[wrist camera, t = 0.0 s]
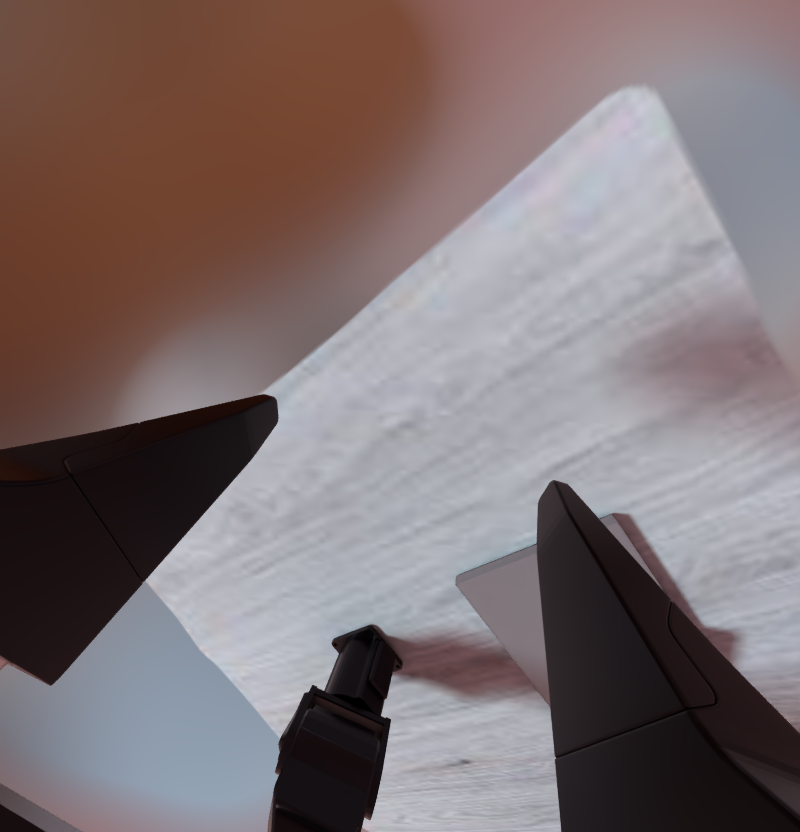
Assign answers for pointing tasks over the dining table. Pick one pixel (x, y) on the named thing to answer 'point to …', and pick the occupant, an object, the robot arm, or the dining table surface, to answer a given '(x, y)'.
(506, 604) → the board
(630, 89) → the dining table surface
